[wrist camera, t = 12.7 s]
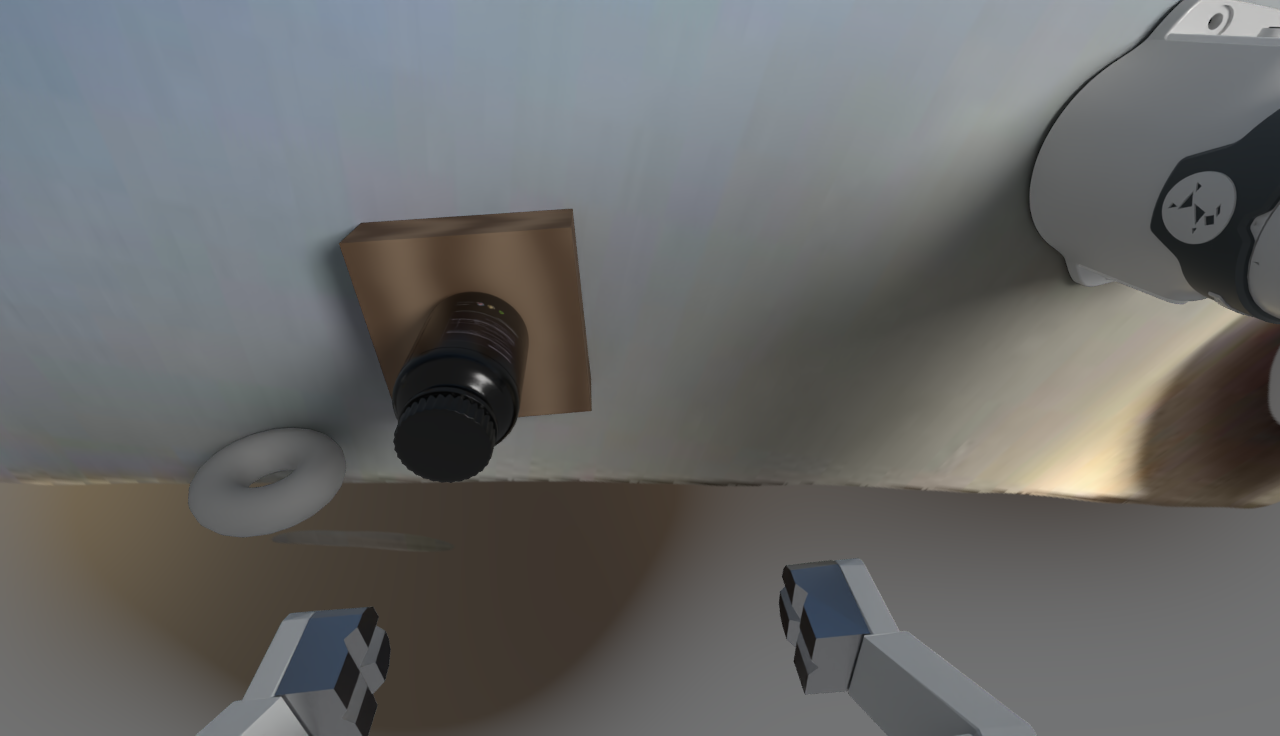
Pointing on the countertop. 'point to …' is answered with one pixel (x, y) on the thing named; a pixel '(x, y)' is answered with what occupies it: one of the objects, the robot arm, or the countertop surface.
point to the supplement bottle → (460, 387)
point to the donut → (271, 508)
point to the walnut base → (479, 262)
